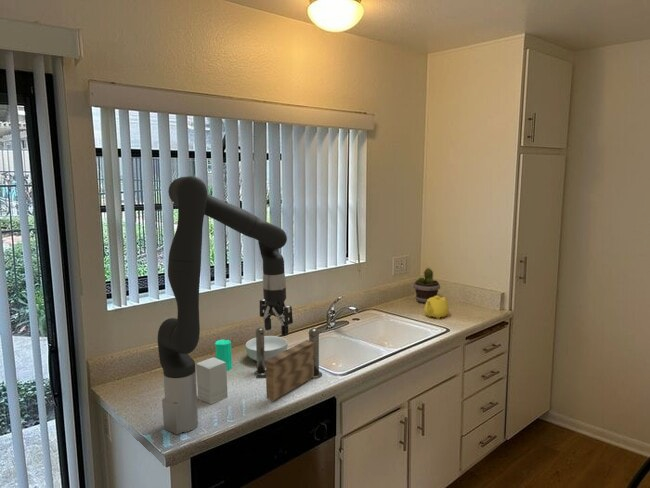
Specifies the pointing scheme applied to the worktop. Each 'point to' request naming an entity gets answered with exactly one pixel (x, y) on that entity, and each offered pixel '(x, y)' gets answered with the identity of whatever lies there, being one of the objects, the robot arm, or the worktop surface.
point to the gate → (289, 369)
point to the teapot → (436, 307)
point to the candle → (224, 352)
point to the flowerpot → (426, 287)
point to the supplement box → (212, 380)
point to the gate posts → (261, 352)
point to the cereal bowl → (267, 347)
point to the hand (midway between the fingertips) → (276, 332)
